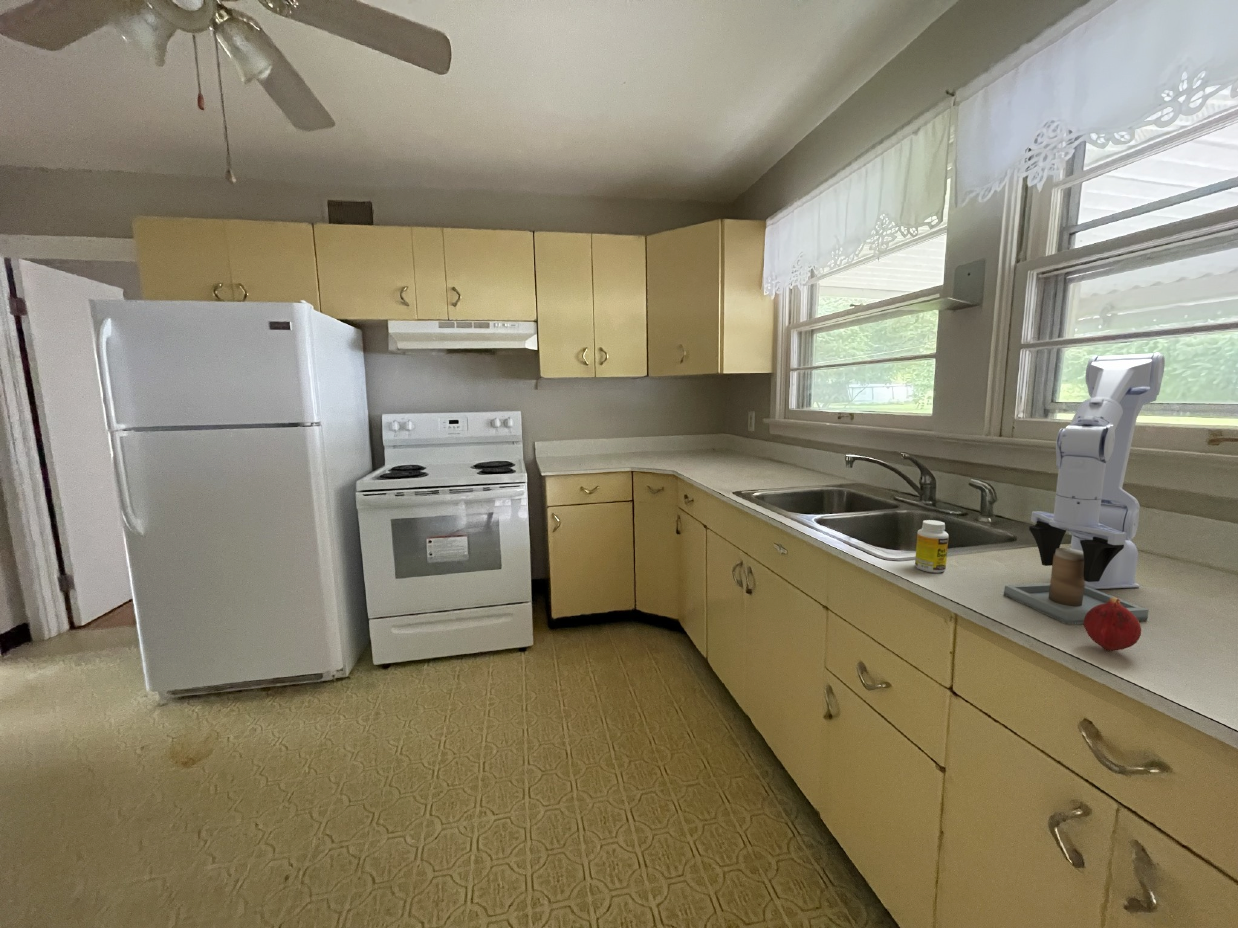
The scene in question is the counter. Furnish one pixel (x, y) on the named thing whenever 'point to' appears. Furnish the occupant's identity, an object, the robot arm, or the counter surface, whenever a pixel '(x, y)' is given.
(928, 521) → the supplement bottle
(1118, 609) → the onion
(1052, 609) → the tray
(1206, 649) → the counter surface
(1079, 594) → the shaker
